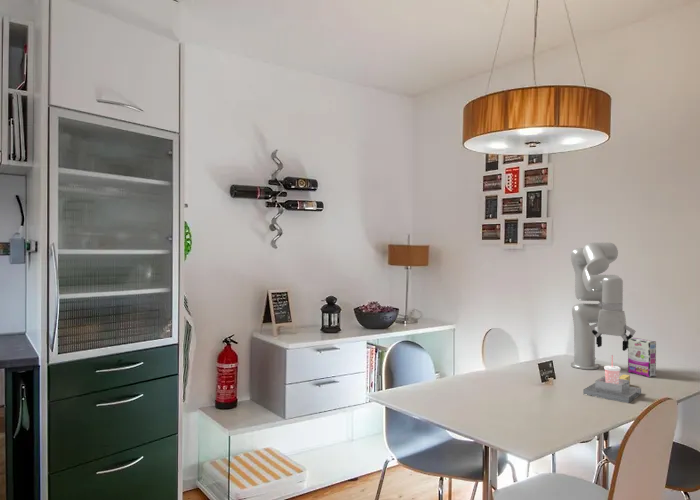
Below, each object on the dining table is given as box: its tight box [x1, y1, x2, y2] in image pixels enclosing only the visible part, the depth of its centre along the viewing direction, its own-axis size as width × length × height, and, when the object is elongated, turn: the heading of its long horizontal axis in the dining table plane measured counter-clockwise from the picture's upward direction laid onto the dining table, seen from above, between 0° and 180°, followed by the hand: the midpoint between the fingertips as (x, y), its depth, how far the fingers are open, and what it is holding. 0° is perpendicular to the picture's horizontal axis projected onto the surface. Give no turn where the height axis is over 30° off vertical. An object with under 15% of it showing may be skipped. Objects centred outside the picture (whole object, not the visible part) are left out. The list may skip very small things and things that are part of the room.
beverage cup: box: [603, 354, 621, 384], centre depth 213 cm, size 6×6×14 cm
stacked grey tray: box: [583, 375, 642, 404], centre depth 213 cm, size 17×17×6 cm
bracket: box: [619, 374, 631, 386], centre depth 221 cm, size 14×8×6 cm, turn 136°
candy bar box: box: [627, 337, 657, 378], centre depth 243 cm, size 11×5×16 cm, turn 25°
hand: (611, 348), depth 213 cm, fingers open, 9 cm apart
